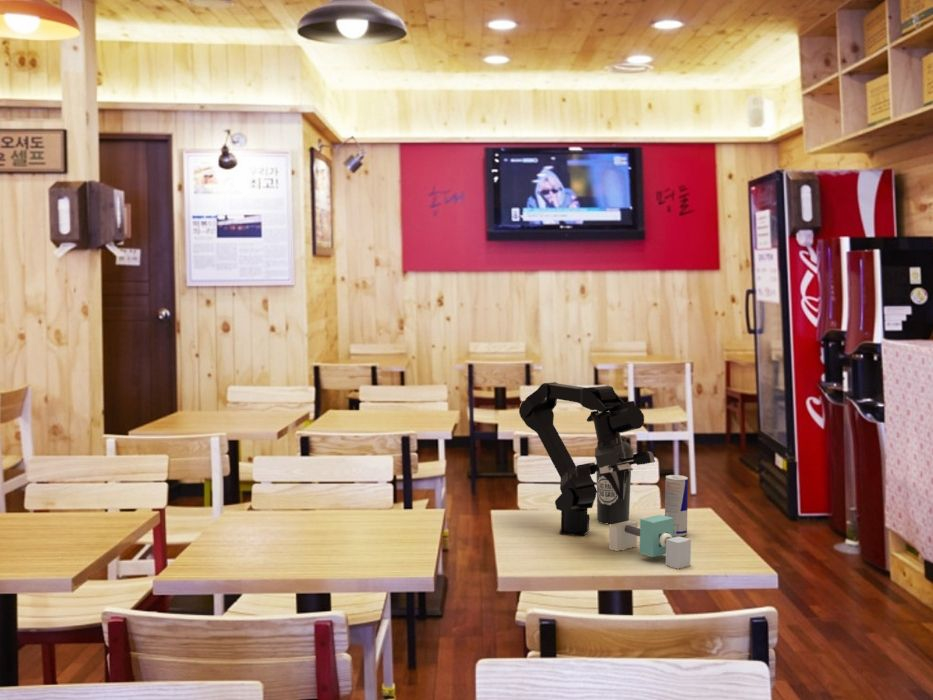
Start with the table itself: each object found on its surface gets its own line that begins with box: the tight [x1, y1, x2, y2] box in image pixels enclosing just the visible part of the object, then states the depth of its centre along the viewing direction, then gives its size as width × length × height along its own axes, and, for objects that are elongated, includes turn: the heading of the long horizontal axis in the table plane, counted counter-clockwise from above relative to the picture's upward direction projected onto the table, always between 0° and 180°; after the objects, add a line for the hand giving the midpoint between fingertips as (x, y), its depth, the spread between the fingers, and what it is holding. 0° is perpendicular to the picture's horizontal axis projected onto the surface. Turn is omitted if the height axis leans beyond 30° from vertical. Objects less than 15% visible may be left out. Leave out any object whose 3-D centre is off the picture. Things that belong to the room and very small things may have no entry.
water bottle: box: [594, 435, 634, 525], centre depth 242 cm, size 10×10×23 cm
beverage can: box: [664, 474, 689, 537], centre depth 230 cm, size 6×6×15 cm
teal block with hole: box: [639, 514, 674, 558], centre depth 209 cm, size 4×7×8 cm, turn 127°
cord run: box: [608, 519, 692, 570], centre depth 211 cm, size 20×7×7 cm, turn 37°
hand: (622, 499), depth 218 cm, fingers closed
